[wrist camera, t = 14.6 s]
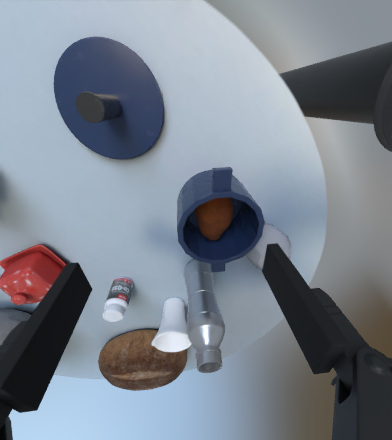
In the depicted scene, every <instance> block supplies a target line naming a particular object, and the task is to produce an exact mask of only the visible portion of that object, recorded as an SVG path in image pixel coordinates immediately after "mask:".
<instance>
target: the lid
mask: <svg viewBox="0 0 392 440" xmlns="http://www.w3.org/2000/svg"><path fill="white" fill-rule="evenodd" d="M54 93H55V98H56V103H57V106H58V109H59V111H60V114H61V116H62V118H63V120H64V122H65V124H66V125H67V127H68V128H69V130H70V131H71V132H72V133H73V134H74V136H75V137H76V138H77V139H78V140H79V141H80V142H81V143H83V144H84V145H85V146H86V147H88V148H89V149H91V150H92V151H94V152H96V153H98V154H100V155H103V156H105V157H109V158H114V159H128V158H132V157H136V156H138V155H140V154H142V153H144V152H145V151H146V150H148V149H149V148H150V147H151V146H152V145H153V143H154V142H155V140H156V139H157V137H158V135H159V133H160V130H161V127H162V122H163V101H162V96H161V92H160V89H159V86H158V84H157V81H156V79H155V77H154V76H153V74H152V72H151V71H150V69H149V68H148V66H147V65H146V64H145V63H144V61H143V60H142V59H141V58H140V57H139V56H138V55H137V54H136V53H135V52H133V51H132V50H131V49H129V48H128V47H127V46H125V45H123V44H121V43H120V42H117V41H115V40H112V39H108V38H104V37H89V38H84V39H81V40H79V41H77V42H75V43H73V44H72V45H71V46H69V47H68V48H67V49H66V50H65V52H64V53H63V54H62V56H61V57H60V59H59V61H58V64H57V67H56V70H55V75H54Z"/></svg>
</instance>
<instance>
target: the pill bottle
mask: <svg viewBox="0 0 392 440" xmlns="http://www.w3.org/2000/svg"><path fill="white" fill-rule="evenodd" d="M132 289H133V282H132V280H131V279H129V278H126V277H118V278H116V279H115V280H114V281H113V283H112V286H111V288H110V291H109V294H108V296H107V299H106V302H105V309H104V312H103V315H102V316H103V318H104V319H105V320H106V321H109V322H118V321H120V320H122V319H123V316H124V312H125V311H126V309H127V307H128V304H129V300H130V296H131V292H132Z"/></svg>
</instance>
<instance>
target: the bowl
mask: <svg viewBox="0 0 392 440" xmlns="http://www.w3.org/2000/svg"><path fill="white" fill-rule="evenodd" d="M30 317H31V314H28V313H26V312H22V311H18V310H15V309H0V345H2V344H3V343H2V342H3V341H4V340H5V338H6V337H7V336H8V334H9V333H10V331H11V330H13V329H14V328H15V327H16V326H17V325H18V324H19V323H20V322H21V321H27V320H29V318H30Z"/></svg>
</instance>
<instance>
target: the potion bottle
mask: <svg viewBox="0 0 392 440" xmlns="http://www.w3.org/2000/svg"><path fill="white" fill-rule="evenodd" d="M275 243H278V244H279V246H280V247H281V248H282V250H283V251H284V253H285V254H286V255H287V257H288V258H289V260H290V254H291V243H290V240H289V238H288V236H286V235H285V234H284V233H282V232H281V231H280V230H278V229H277V228H275V227H274V226H270V225H269V224H266V225H264V228H263V233H262V237H261V238H260V240H259V241H258V243H257V244H256V246H255V247H254V248H253V249H252V250H251V251H250V252H248V253H247V254H246V255H247V256H248V258H249V259H250V261H251V262H252V263H253V264H254V265H255V266H256V267H258V268H260V269H263V264H264V259H265V253H266V248H267V244H275Z"/></svg>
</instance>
